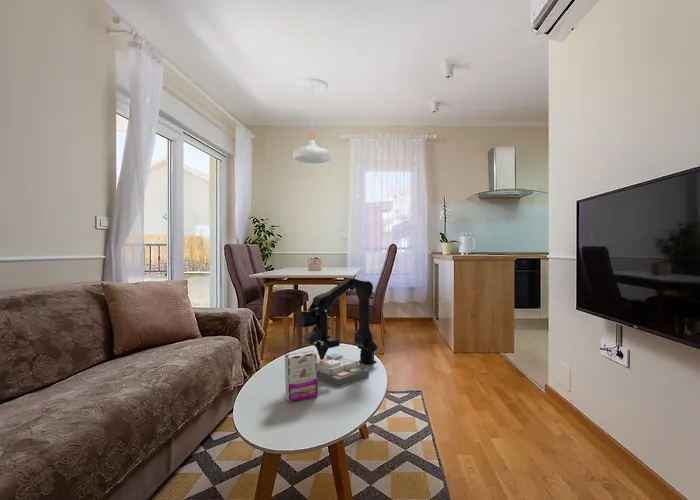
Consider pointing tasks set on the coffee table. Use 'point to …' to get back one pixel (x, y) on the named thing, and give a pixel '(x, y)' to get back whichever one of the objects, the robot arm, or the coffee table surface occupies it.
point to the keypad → (341, 372)
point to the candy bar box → (301, 376)
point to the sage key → (345, 361)
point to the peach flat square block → (321, 361)
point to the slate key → (334, 356)
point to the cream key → (332, 363)
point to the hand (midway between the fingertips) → (321, 359)
